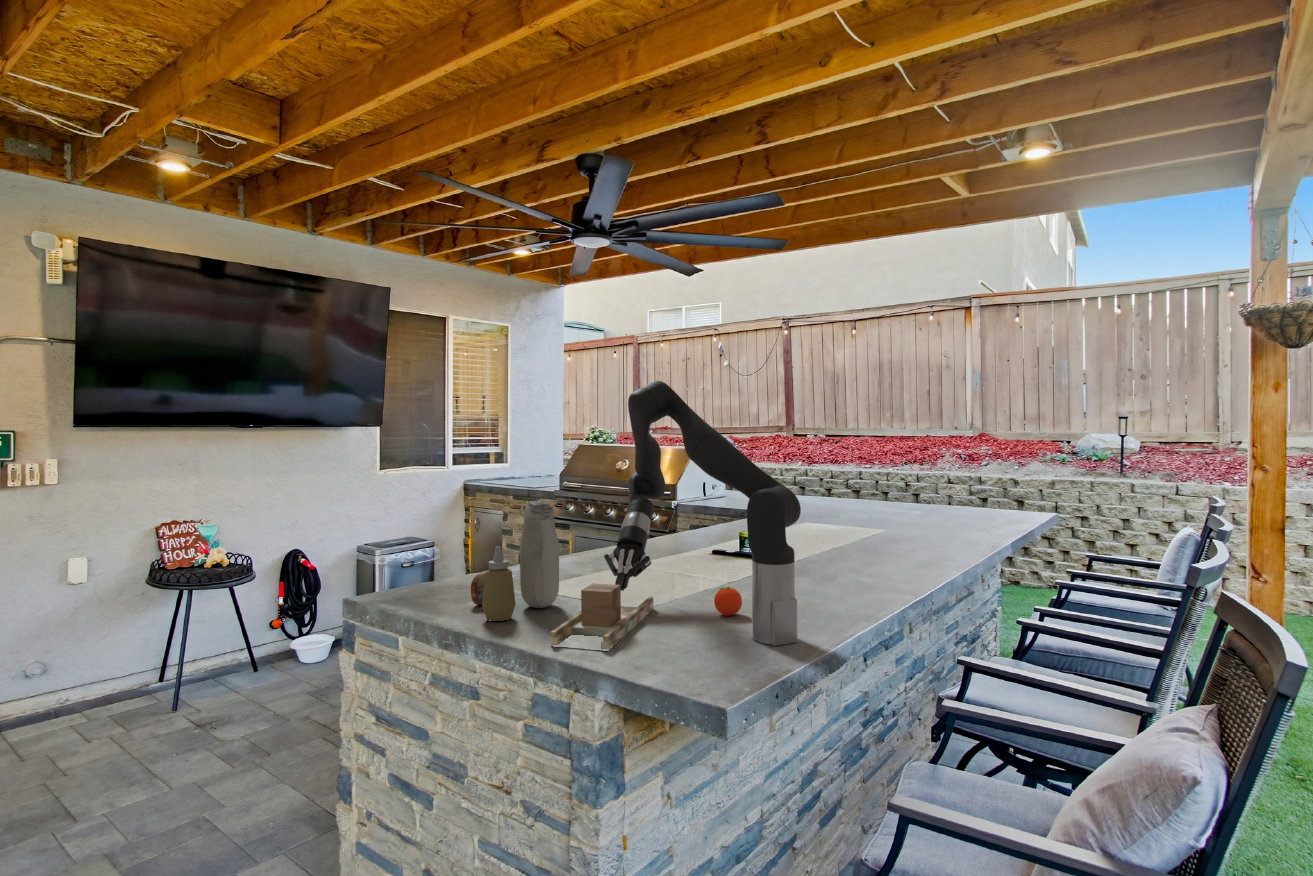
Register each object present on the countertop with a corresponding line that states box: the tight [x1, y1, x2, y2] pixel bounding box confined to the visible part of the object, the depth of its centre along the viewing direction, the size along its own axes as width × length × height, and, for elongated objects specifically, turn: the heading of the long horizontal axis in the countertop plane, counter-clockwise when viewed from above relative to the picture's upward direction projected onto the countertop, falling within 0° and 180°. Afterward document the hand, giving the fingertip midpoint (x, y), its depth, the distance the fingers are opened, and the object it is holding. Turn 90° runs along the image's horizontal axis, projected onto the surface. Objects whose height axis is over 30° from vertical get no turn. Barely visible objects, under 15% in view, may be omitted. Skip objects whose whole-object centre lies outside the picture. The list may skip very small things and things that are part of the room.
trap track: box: [550, 596, 654, 649], centre depth 159 cm, size 34×13×3 cm, turn 164°
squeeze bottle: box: [481, 545, 517, 622], centre depth 166 cm, size 8×8×18 cm
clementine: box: [710, 586, 743, 617], centre depth 168 cm, size 8×7×7 cm
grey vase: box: [519, 499, 560, 609], centre depth 177 cm, size 10×10×28 cm
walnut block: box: [580, 583, 622, 628], centre depth 156 cm, size 7×7×8 cm
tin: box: [470, 570, 487, 606], centre depth 184 cm, size 15×3×8 cm, turn 162°
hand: (620, 588), depth 169 cm, fingers closed
